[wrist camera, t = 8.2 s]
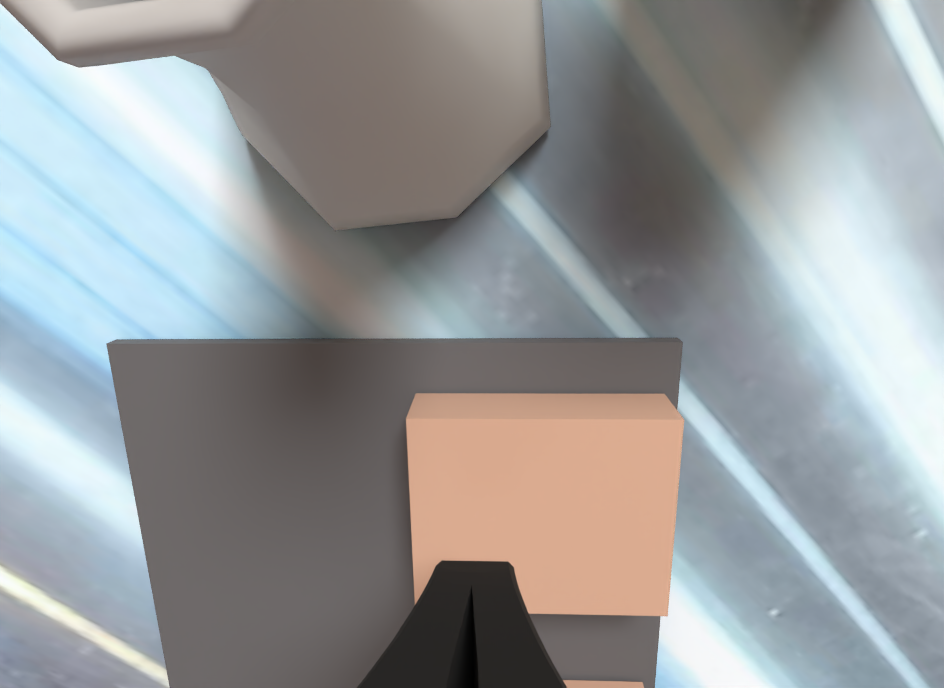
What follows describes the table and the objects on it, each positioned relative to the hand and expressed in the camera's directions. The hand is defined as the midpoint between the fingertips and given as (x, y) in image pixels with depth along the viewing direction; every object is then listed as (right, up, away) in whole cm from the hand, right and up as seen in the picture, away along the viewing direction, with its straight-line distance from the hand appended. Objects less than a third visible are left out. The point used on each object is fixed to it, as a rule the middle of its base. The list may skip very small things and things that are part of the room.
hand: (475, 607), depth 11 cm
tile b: (-1, +1, +4) cm, 4 cm away
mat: (-2, -3, +6) cm, 7 cm away
